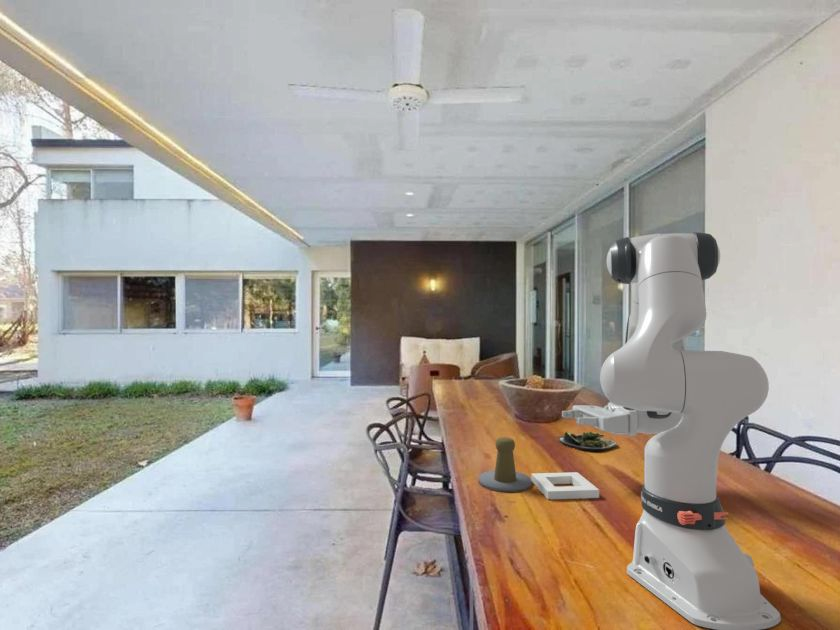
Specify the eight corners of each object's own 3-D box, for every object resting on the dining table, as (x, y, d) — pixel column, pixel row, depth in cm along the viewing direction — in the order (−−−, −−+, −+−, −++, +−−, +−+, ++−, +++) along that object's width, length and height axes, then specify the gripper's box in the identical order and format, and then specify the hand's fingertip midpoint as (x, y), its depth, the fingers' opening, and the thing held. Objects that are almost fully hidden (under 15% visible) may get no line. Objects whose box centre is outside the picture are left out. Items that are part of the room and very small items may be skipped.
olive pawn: (515, 484, 122) (515, 442, 122) (492, 481, 124) (492, 440, 124) (517, 476, 127) (517, 436, 127) (495, 474, 129) (495, 434, 129)
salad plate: (584, 435, 177) (584, 423, 177) (627, 446, 162) (627, 432, 162) (550, 443, 166) (550, 430, 166) (594, 455, 151) (594, 441, 151)
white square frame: (599, 497, 115) (599, 489, 115) (547, 499, 114) (547, 491, 114) (577, 479, 128) (577, 472, 128) (531, 480, 127) (531, 473, 127)
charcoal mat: (538, 491, 119) (538, 487, 119) (484, 492, 118) (484, 488, 118) (522, 472, 133) (522, 469, 133) (474, 474, 132) (474, 470, 132)
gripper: (600, 399, 136) (555, 400, 135) (639, 412, 116) (586, 412, 115) (601, 421, 136) (555, 421, 135) (640, 437, 116) (586, 438, 114)
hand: (569, 417), depth 125 cm, fingers open, 8 cm apart
